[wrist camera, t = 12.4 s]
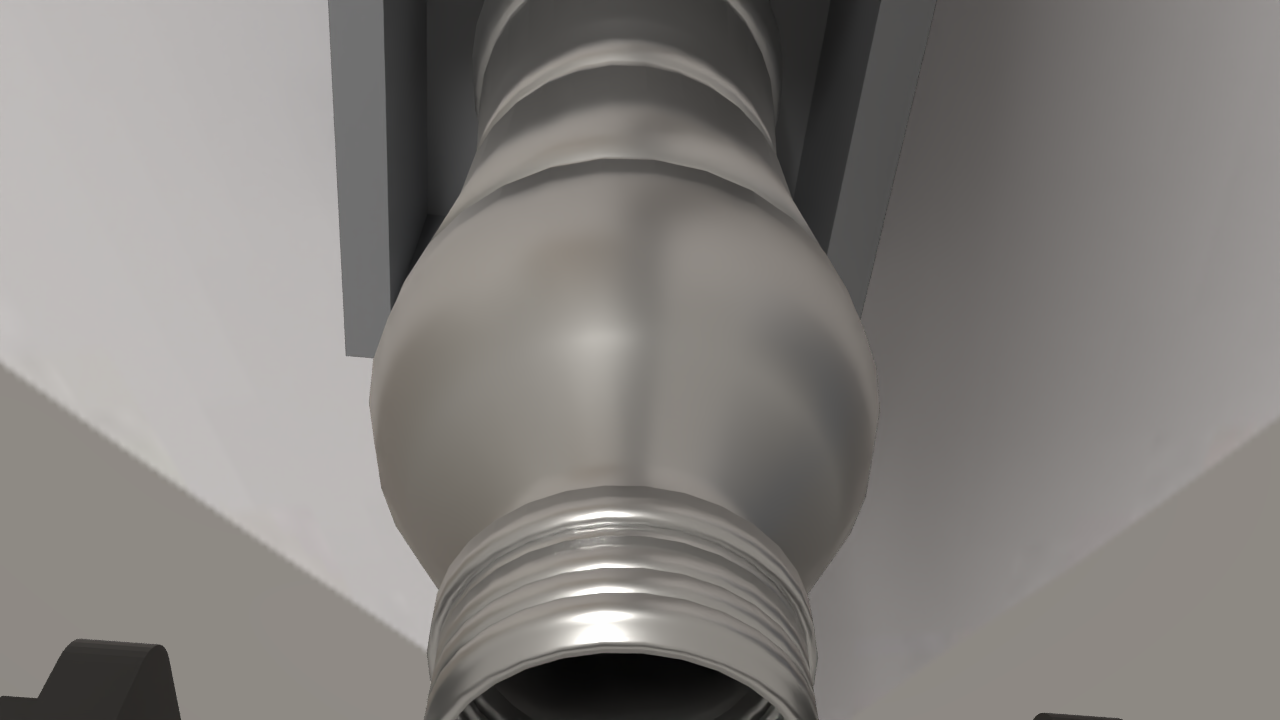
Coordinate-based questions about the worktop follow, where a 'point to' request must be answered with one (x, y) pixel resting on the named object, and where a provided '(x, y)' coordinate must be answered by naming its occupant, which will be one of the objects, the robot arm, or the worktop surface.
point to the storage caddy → (448, 126)
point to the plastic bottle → (624, 379)
